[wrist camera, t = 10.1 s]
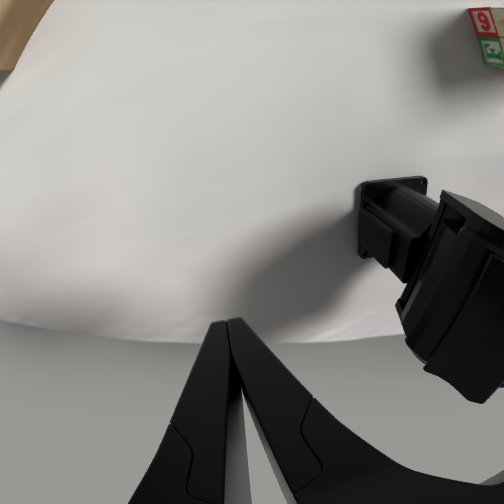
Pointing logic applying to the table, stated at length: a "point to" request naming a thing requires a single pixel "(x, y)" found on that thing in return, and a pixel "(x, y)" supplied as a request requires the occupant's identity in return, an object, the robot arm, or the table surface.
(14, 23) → the block
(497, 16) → the stack of blocks
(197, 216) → the table surface
